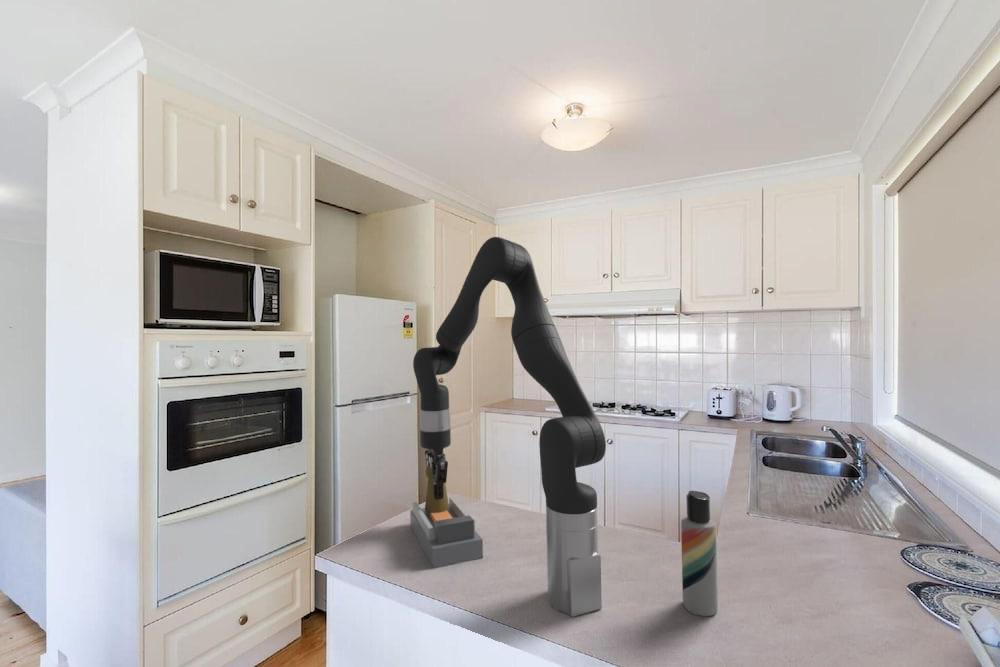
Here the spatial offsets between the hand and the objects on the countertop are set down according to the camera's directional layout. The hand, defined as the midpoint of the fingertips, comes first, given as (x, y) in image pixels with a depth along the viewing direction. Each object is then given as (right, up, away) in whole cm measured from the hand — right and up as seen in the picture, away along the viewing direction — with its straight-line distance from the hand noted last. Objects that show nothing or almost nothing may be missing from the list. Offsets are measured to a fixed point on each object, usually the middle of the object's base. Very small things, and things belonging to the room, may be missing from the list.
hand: (436, 495), depth 117 cm
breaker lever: (+2, -4, -5) cm, 7 cm away
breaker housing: (+3, -9, -6) cm, 11 cm away
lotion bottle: (+51, -8, -35) cm, 62 cm away
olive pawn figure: (0, -3, 0) cm, 3 cm away
